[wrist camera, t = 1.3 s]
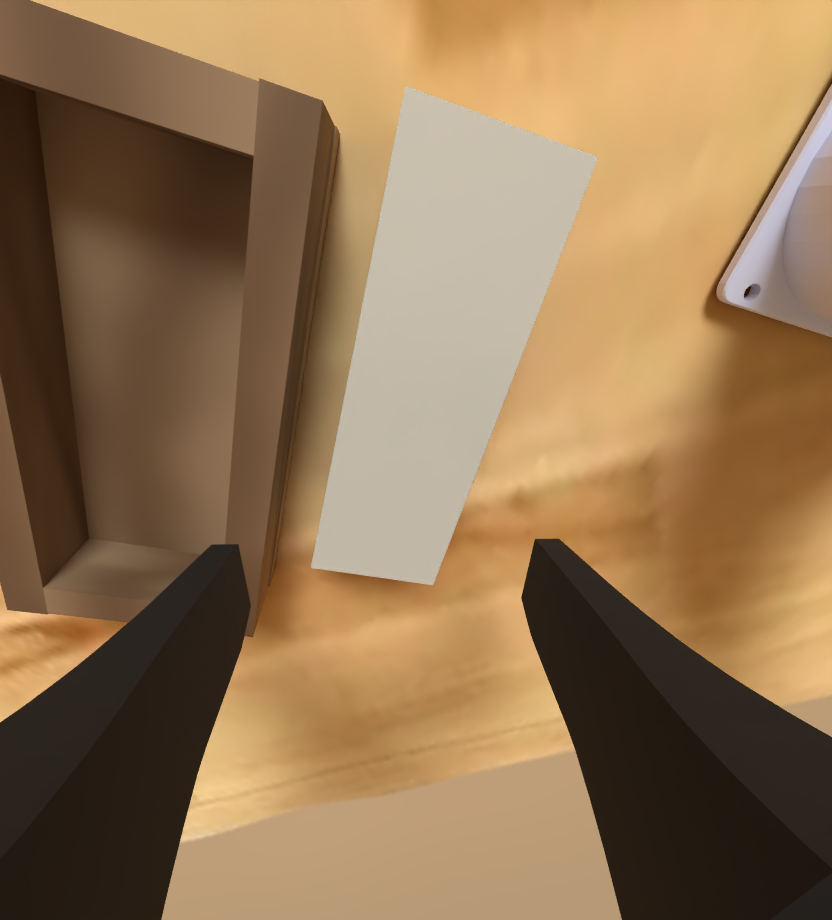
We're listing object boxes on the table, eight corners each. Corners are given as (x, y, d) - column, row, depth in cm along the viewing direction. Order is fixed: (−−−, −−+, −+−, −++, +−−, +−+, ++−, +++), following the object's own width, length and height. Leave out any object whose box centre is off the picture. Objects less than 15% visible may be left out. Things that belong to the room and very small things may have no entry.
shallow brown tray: (340, 134, 11) (325, 101, 8) (274, 569, 19) (254, 637, 16) (-4, 16, 10) (-176, -77, 7) (72, 540, 17) (5, 609, 14)
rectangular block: (529, 177, 12) (598, 157, 8) (421, 505, 18) (432, 585, 14) (397, 131, 12) (405, 86, 8) (326, 489, 17) (310, 567, 13)
